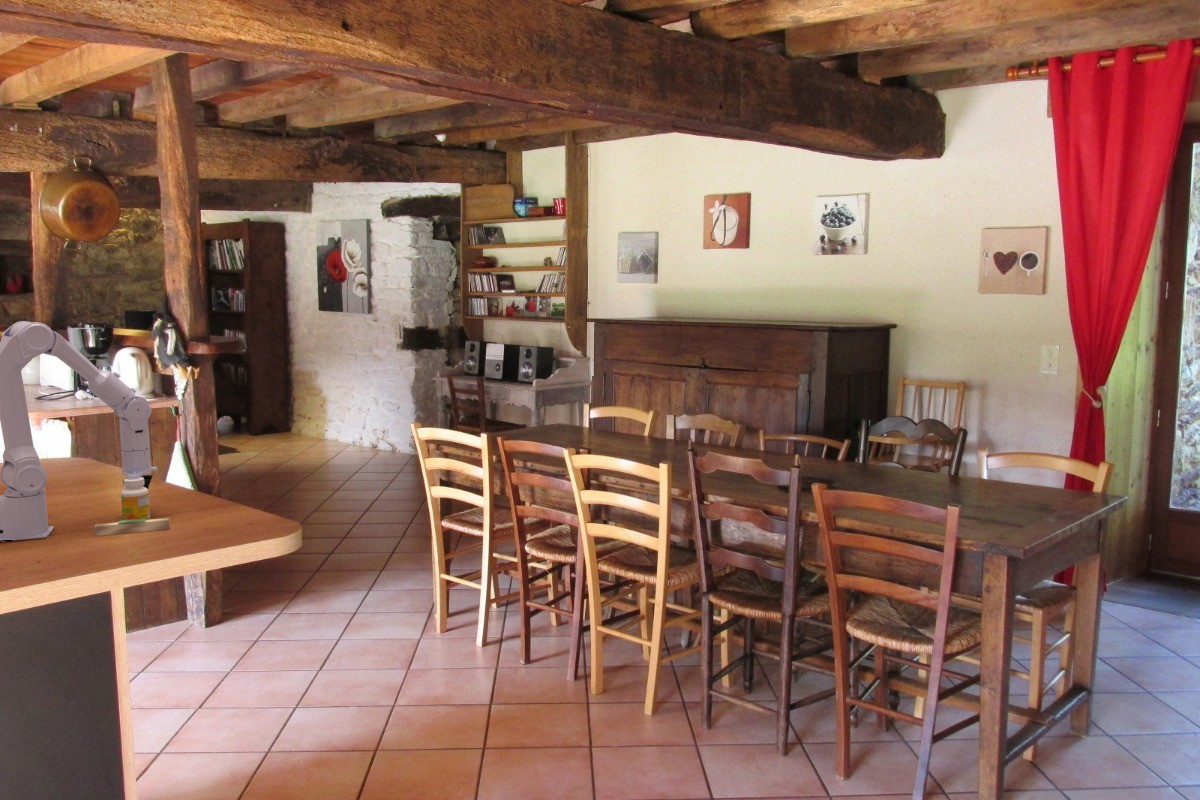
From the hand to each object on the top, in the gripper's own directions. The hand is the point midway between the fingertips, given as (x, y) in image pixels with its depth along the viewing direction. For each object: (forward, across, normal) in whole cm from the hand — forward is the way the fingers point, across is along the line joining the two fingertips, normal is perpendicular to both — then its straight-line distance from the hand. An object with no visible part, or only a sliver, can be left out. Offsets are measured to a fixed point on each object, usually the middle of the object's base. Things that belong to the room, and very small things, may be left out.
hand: (140, 509), depth 217 cm
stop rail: (+1, -14, 0) cm, 14 cm away
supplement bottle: (+2, -7, 0) cm, 7 cm away
